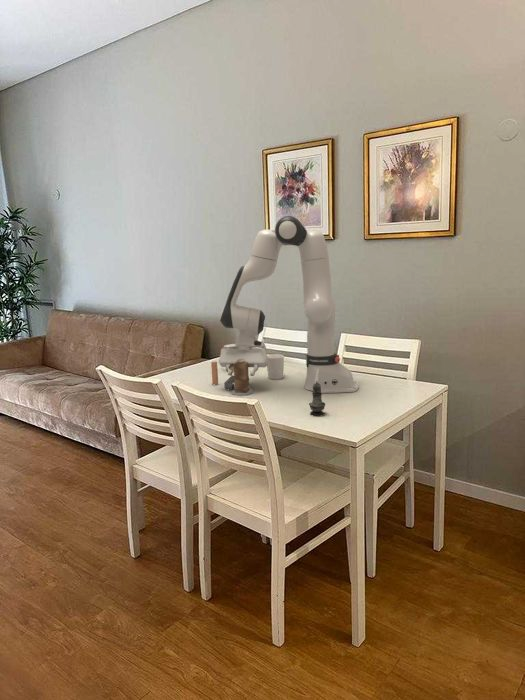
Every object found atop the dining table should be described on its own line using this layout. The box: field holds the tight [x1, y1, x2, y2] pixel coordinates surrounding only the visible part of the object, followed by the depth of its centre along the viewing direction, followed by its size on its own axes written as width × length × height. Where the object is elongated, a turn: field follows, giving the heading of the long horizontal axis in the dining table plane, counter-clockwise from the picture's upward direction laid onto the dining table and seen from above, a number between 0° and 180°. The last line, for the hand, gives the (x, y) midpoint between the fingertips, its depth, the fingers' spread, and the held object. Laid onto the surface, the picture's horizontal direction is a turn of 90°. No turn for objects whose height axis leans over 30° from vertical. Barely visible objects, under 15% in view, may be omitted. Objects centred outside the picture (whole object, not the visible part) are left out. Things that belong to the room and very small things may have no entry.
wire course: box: [210, 361, 235, 391], centre depth 225 cm, size 15×15×10 cm
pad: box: [230, 388, 254, 397], centre depth 215 cm, size 9×9×1 cm
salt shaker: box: [308, 381, 326, 417], centre depth 184 cm, size 6×6×12 cm
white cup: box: [266, 353, 285, 380], centre depth 235 cm, size 8×8×10 cm
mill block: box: [233, 359, 250, 393], centre depth 213 cm, size 5×5×13 cm
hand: (240, 375), depth 213 cm, fingers open, 8 cm apart
